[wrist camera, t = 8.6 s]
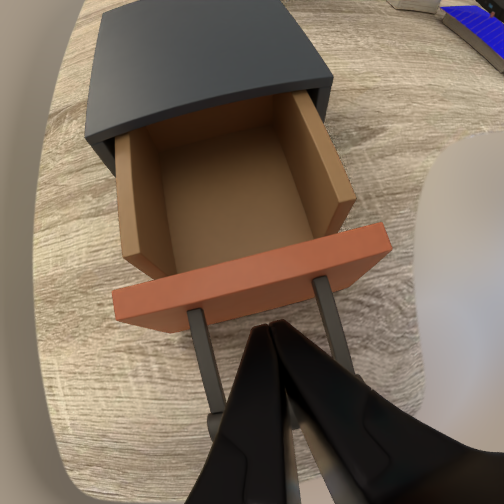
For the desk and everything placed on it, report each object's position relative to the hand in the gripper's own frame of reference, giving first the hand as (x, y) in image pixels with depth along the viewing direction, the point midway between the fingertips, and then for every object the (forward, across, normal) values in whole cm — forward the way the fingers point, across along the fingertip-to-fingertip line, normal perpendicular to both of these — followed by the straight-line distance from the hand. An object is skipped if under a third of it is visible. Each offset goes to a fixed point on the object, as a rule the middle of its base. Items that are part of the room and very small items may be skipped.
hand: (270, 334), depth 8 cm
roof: (+27, -39, -11) cm, 49 cm away
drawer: (+11, 0, +3) cm, 11 cm away
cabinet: (+20, 0, -4) cm, 20 cm away
